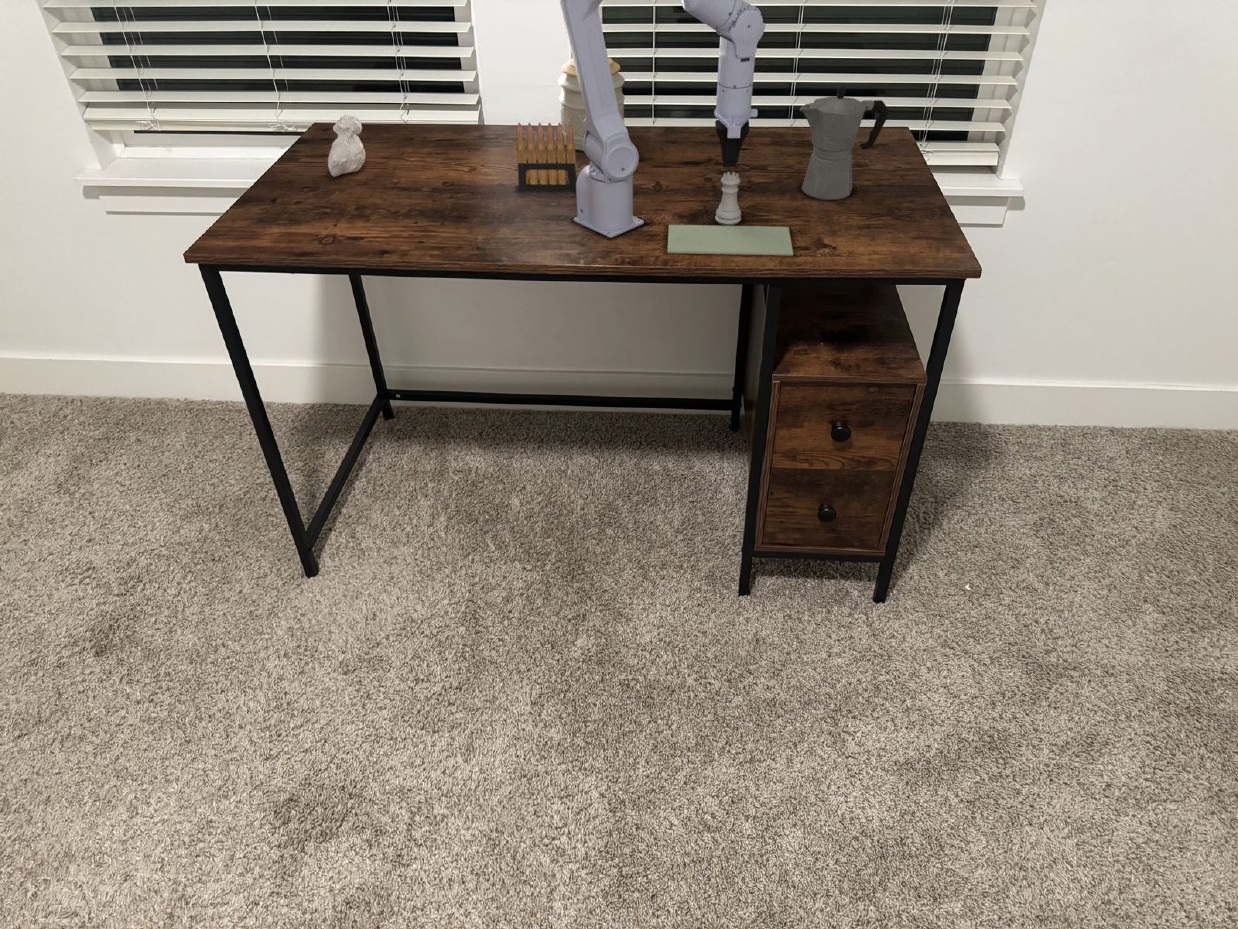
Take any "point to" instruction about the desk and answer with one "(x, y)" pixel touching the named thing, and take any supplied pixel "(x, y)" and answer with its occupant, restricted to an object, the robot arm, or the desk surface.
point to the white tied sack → (346, 147)
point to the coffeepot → (837, 142)
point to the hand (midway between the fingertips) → (729, 165)
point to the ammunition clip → (546, 160)
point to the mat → (729, 240)
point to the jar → (574, 103)
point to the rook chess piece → (729, 201)
